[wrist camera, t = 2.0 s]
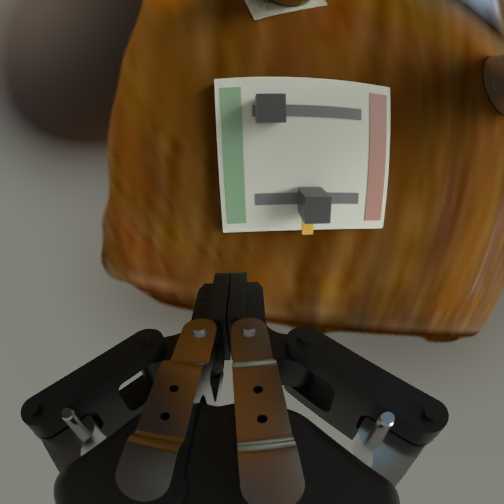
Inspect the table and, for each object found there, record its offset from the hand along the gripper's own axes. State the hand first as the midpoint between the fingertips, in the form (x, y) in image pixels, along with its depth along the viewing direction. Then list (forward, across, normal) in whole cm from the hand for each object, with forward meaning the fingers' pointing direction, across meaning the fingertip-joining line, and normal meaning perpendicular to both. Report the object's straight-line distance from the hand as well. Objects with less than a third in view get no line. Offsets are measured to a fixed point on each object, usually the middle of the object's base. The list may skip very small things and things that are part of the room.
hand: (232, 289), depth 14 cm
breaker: (+16, -3, -9) cm, 19 cm away
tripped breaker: (+16, -7, 0) cm, 18 cm away
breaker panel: (+18, -7, -4) cm, 20 cm away
